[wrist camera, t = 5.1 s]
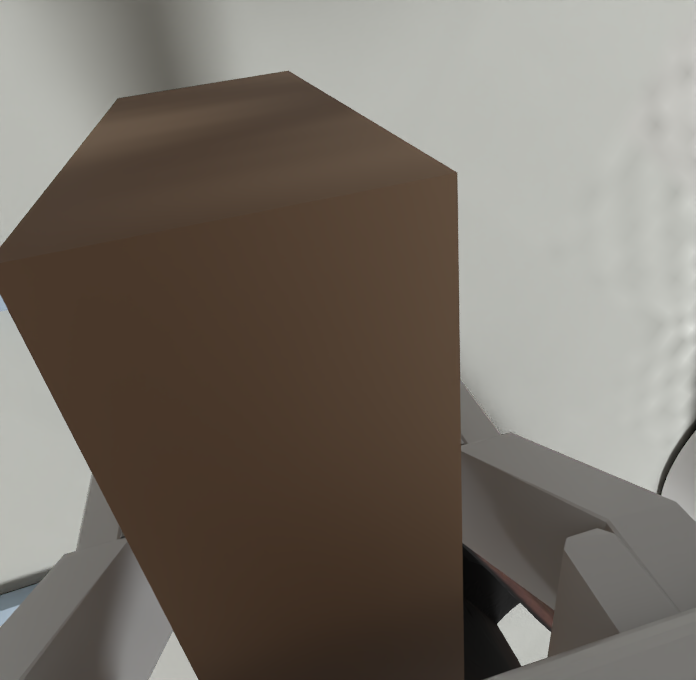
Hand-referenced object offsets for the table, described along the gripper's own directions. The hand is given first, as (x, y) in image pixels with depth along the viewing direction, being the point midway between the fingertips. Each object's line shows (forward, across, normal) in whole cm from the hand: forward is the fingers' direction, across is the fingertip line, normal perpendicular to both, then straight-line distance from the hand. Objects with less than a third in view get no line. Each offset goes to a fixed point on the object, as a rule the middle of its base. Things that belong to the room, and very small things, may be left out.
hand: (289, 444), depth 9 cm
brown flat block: (+2, 0, 0) cm, 2 cm away
